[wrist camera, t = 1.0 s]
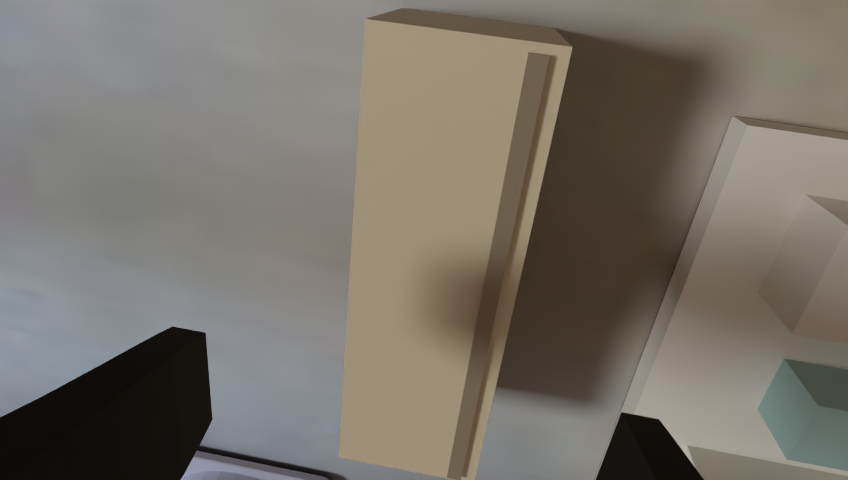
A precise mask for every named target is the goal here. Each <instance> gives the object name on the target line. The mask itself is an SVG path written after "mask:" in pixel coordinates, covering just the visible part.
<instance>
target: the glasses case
mask: <svg viewBox="0 0 848 480" xmlns="http://www.w3.org/2000/svg"><path fill="white" fill-rule="evenodd" d="M572 48H573V47H572V46H571V45H570V44H569V43H568V42H567V41H566V40H565V39H564V38H563V37H562V36H561V35H560V34H559V33H558V32H557V31H556V30H555V29H554V28H548V27H540V26H533V25H526V24H518V23H511V22H503V21H496V20H488V19H481V18H473V17H466V16H458V15H451V14H444V13H436V12H429V11H421V10H414V9H406V8H401V9H398V10H394V11H391V12H387V13H384V14H380V15H377V16H373V17H370V18H366V19H365V31H364V48H363V64H362V81H361V97H360V113H359V130H358V146H357V163H356V179H355V196H354V212H353V229H352V245H351V262H350V278H349V294H348V311H347V327H346V344H345V360H344V377H343V393H342V410H341V426H340V443H339V458H344V459H349V460H354V461H359V462H365V463H370V464H375V465H380V466H385V467H390V468H395V469H401V470H406V471H411V472H416V473H421V474H426V475H431V476H437V477H442V478H447V479H452V480H475V477H476V472H477V468H478V464H479V459H480V455H481V450H482V446H483V441H484V437H485V433H486V428H487V424H488V419H489V415H490V410H491V406H492V402H493V397H494V393H495V388H496V384H497V380H498V375H499V371H500V366H501V362H502V357H503V353H504V349H505V344H506V340H507V335H508V331H509V326H510V322H511V318H512V313H513V309H514V304H515V300H516V295H517V291H518V287H519V282H520V278H521V273H522V269H523V265H524V260H525V256H526V251H527V247H528V242H529V238H530V234H531V229H532V225H533V220H534V216H535V211H536V207H537V203H538V198H539V194H540V189H541V185H542V180H543V176H544V172H545V167H546V163H547V158H548V154H549V150H550V145H551V141H552V136H553V132H554V127H555V123H556V119H557V114H558V110H559V105H560V101H561V96H562V92H563V88H564V83H565V79H566V74H567V70H568V65H569V61H570V57H571V52H572Z"/></svg>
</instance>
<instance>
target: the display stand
mask: <svg viewBox="0 0 848 480" xmlns="http://www.w3.org/2000/svg"><path fill="white" fill-rule="evenodd" d="M621 412H623V413H629V414H634V415H639V416H644V417H650V418H655V419H659V420H660V421H661V423H662V424H663V425H664V426H665V428H666V429H667V430H668V432H669V433H670V434H671V436H672V437H673V438H674V440H675V441H676V442H677V444H678V445H679V446H680V448H681V449H682V451H683V452H684V453H685V455H686V456H687V457H688V459H689V460H690V461H691V463H692V464H693V465H694V467H695V468H696V469H697V471H698V472H699V474H700V475H701V476H702V478H703V479H704V480H848V133H843V132H836V131H830V130H823V129H816V128H809V127H803V126H796V125H789V124H782V123H776V122H769V121H762V120H755V119H749V118H742V117H735V116H732V119H731V121H730V124H729V127H728V129H727V132H726V135H725V137H724V140H723V142H722V145H721V148H720V150H719V153H718V156H717V158H716V161H715V164H714V166H713V169H712V172H711V174H710V177H709V180H708V182H707V185H706V187H705V190H704V193H703V195H702V198H701V201H700V203H699V206H698V209H697V211H696V214H695V217H694V219H693V222H692V225H691V227H690V230H689V232H688V235H687V238H686V240H685V243H684V246H683V248H682V251H681V254H680V256H679V259H678V262H677V264H676V267H675V270H674V272H673V275H672V277H671V280H670V283H669V285H668V288H667V291H666V293H665V296H664V299H663V301H662V304H661V307H660V309H659V312H658V314H657V317H656V320H655V322H654V325H653V328H652V330H651V333H650V336H649V338H648V341H647V344H646V346H645V349H644V352H643V354H642V357H641V359H640V362H639V365H638V367H637V370H636V373H635V375H634V378H633V381H632V383H631V386H630V389H629V391H628V394H627V397H626V399H625V402H624V404H623V407H622V410H621ZM621 412H620V414H621ZM619 417H620V415H619ZM618 420H619V418H618ZM618 420H617V422H618ZM616 425H617V423H616ZM615 427H616V426H615ZM614 430H615V428H614ZM613 433H614V431H613ZM612 435H613V434H612ZM611 438H612V436H611ZM610 441H611V439H610ZM610 441H609V443H610ZM608 446H609V444H608ZM607 448H608V447H607ZM606 451H607V449H606ZM605 454H606V452H605ZM604 456H605V455H604ZM603 459H604V457H603ZM602 462H603V460H602ZM601 464H602V463H601ZM600 467H601V465H600ZM599 469H600V468H599ZM598 472H599V471H598ZM597 475H598V473H597ZM596 477H597V476H596ZM595 480H596V479H595Z"/></svg>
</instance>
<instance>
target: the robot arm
mask: <svg viewBox="0 0 848 480" xmlns="http://www.w3.org/2000/svg"><path fill="white" fill-rule="evenodd" d="M211 421H212V410H211V398H210V385H209V372H208V359H207V347H206V334H205V333H203V332H198V331H193V330H188V329H182V328H177V327H171V328H169V329H167V330H165V331H163V332H161V333H159V334H157V335H155V336H153V337H151V338H149V339H147V340H146V341H144V342H142V343H140V344H138V345H136V346H134V347H133V348H131V349H129V350H127V351H125V352H124V353H122V354H120V355H118V356H116V357H114V358H113V359H111V360H109V361H107V362H105V363H104V364H102V365H100V366H98V367H96V368H94V369H93V370H91V371H89V372H87V373H85V374H83V375H81V376H80V377H78V378H76V379H74V380H72V381H70V382H69V383H67V384H65V385H63V386H61V387H59V388H57V389H56V390H54V391H52V392H50V393H48V394H46V395H44V396H42V397H41V398H39V399H37V400H35V401H33V402H31V403H29V404H26V405H24V406H22V407H20V408H18V409H16V410H14V411H12V412H10V413H8V414H6V415H4V416H2V417H0V480H329V479H328V478H326V477H323V476H318V475H313V474H308V473H304V472H299V471H294V470H289V469H284V468H279V467H274V466H270V465H265V464H260V463H255V462H250V461H245V460H240V459H236V458H231V457H226V456H221V455H216V454H211V453H207V452H202V451H197V449H198V447H199V445H200V443H201V441H202V439H203V437H204V435H205V433H206V431H207V429H208V427H209V425H210V423H211ZM596 480H704V479H703V478H702V476H701V475H700V474H699V472H698V471H697V469H696V468H695V467H694V465H693V464H692V463H691V461H690V460H689V459H688V457H687V456H686V455H685V453H684V452H683V451H682V449H681V448H680V446H679V445H678V444H677V442H676V441H675V440H674V438H673V437H672V436H671V434H670V433H669V432H668V430H667V429H666V428H665V426H664V425H663V424H662V423H661V421H660V420H659V419H655V418H650V417H644V416H639V415H634V414H629V413H623V412H621V414H620V417H619V420H618V422H617V425H616V427H615V430H614V433H613V435H612V438H611V441H610V443H609V446H608V448H607V451H606V454H605V456H604V459H603V462H602V464H601V467H600V469H599V472H598V475H597V477H596Z"/></svg>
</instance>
